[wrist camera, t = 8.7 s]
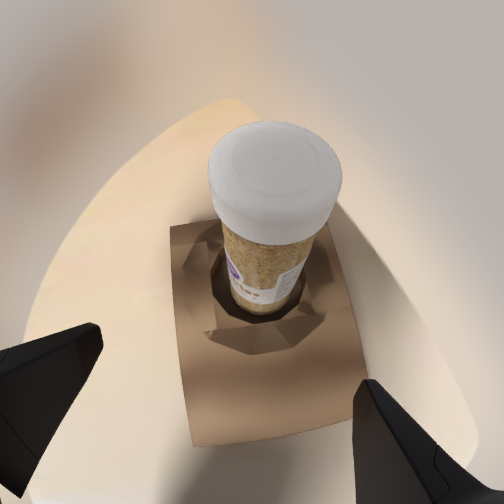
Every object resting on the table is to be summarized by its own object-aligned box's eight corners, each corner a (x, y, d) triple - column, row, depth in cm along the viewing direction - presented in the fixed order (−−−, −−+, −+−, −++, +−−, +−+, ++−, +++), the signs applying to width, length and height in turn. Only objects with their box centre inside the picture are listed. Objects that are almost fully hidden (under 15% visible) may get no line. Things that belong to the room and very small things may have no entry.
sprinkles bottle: (218, 286, 21) (178, 156, 9) (262, 249, 22) (274, 103, 10) (260, 330, 19) (279, 246, 7) (304, 288, 21) (369, 165, 8)
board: (360, 407, 17) (373, 410, 15) (200, 438, 16) (193, 446, 14) (314, 219, 24) (320, 203, 22) (177, 239, 23) (169, 224, 21)
